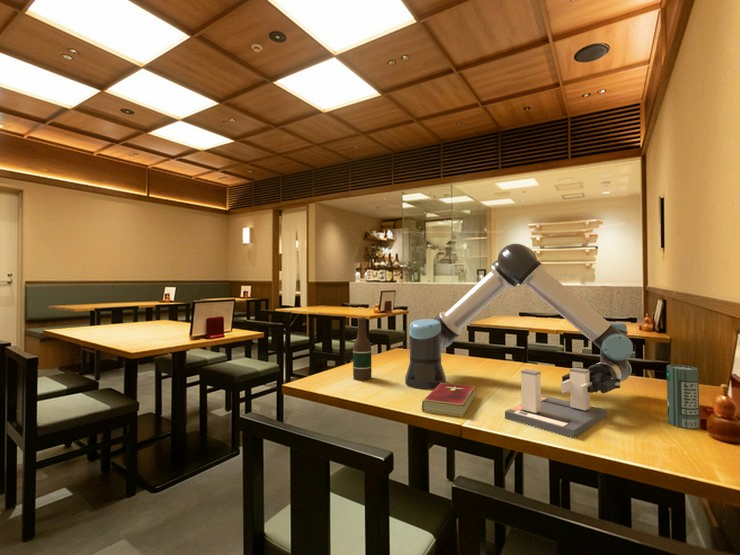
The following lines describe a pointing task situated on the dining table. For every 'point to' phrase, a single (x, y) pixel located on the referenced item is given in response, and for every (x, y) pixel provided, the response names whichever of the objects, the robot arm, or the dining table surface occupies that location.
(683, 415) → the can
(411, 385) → the robot arm
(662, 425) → the dining table surface
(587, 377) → the back tab
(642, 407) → the dining table surface
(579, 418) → the switch base
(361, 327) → the beer bottle
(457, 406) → the hardcover book
